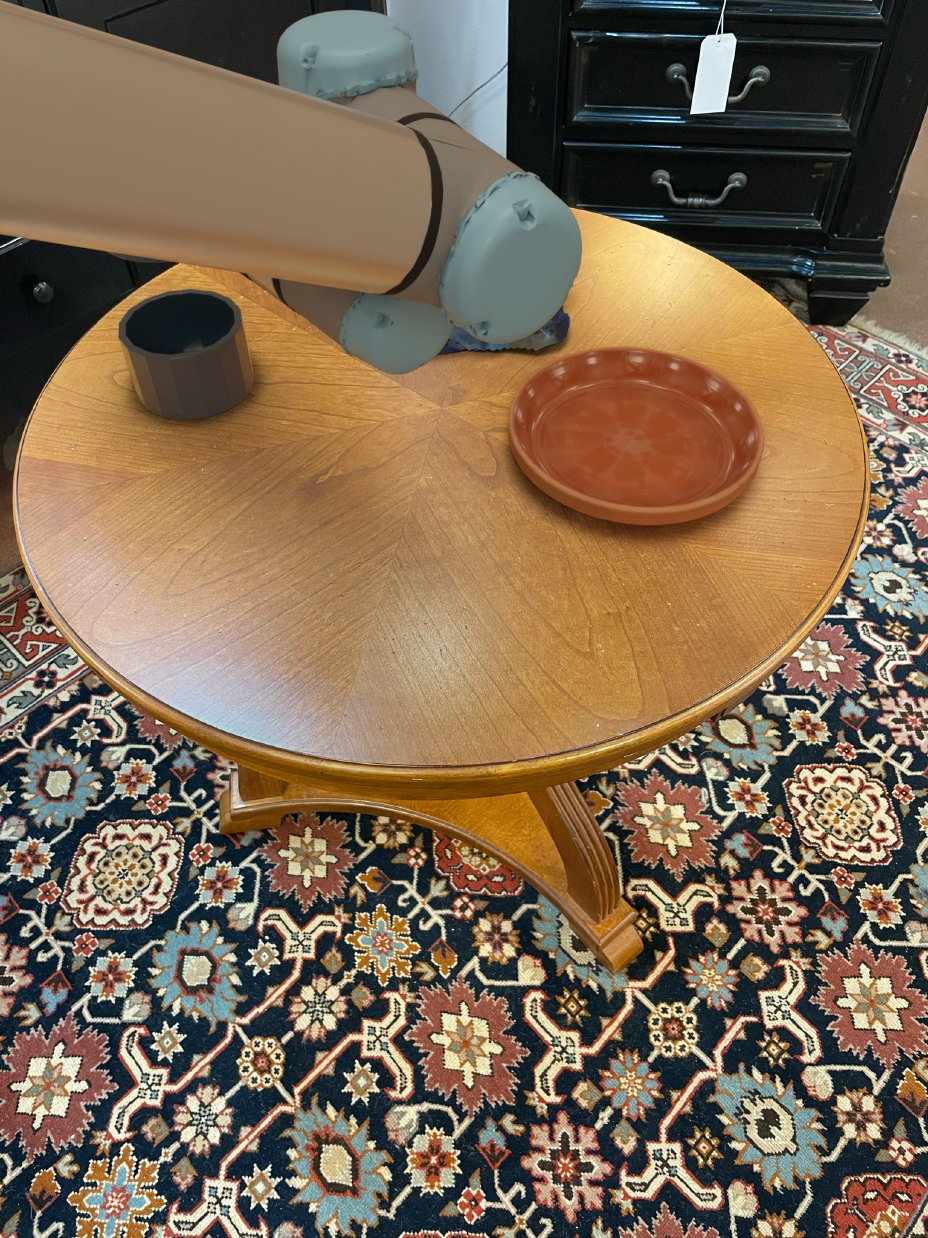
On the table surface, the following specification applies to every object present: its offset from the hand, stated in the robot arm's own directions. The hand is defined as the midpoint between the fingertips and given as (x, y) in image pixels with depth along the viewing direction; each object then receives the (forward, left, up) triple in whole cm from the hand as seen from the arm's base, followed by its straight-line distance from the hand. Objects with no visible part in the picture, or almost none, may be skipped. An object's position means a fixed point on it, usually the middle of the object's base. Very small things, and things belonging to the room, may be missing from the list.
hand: (115, 127), depth 78 cm
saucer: (+40, -22, -24) cm, 52 cm away
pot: (+1, -3, -24) cm, 24 cm away
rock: (+32, +2, -24) cm, 40 cm away
